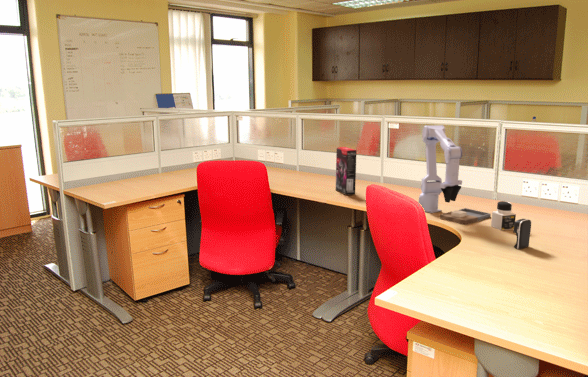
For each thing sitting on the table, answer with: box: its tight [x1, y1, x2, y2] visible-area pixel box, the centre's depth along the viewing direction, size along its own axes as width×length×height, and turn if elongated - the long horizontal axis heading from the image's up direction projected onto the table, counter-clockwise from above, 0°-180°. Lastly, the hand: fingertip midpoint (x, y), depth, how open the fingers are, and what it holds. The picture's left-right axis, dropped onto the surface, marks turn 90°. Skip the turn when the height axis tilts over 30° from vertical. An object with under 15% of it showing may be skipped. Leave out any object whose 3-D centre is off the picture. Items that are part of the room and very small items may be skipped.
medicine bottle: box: [490, 200, 516, 231], centre depth 211 cm, size 7×7×12 cm
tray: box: [459, 207, 492, 222], centre depth 232 cm, size 14×11×2 cm
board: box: [439, 211, 479, 226], centre depth 225 cm, size 14×10×2 cm
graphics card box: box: [335, 146, 358, 196], centre depth 284 cm, size 17×7×27 cm, turn 17°
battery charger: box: [512, 218, 532, 250], centre depth 185 cm, size 7×4×11 cm, turn 124°
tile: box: [450, 209, 467, 218], centre depth 225 cm, size 5×5×2 cm
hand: (450, 201), depth 218 cm, fingers open, 4 cm apart
